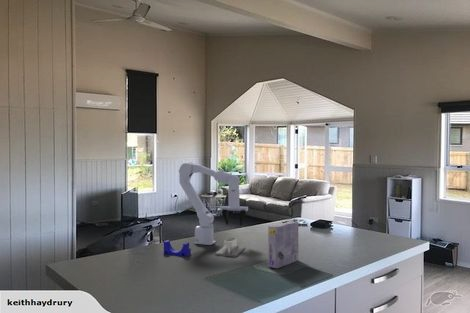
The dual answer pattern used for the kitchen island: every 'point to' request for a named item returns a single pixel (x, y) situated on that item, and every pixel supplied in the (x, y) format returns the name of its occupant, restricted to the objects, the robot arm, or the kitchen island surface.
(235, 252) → the pin tray
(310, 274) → the kitchen island surface
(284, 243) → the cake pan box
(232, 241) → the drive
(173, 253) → the cable clip
